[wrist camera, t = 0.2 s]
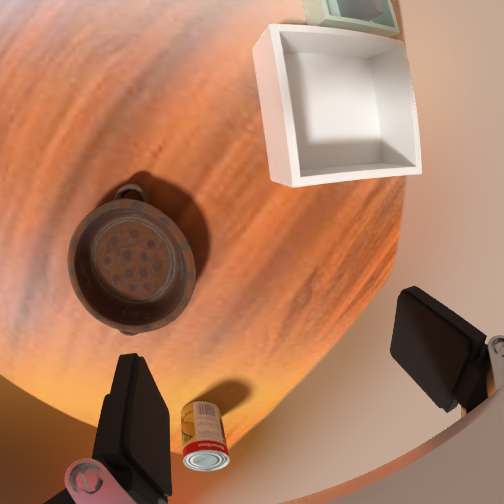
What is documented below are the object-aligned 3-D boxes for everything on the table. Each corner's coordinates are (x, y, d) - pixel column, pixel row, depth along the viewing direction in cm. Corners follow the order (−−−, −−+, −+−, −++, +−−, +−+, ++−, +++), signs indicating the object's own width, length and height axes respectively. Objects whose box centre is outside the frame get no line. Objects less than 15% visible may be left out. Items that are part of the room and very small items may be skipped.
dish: (202, 185, 37) (204, 189, 33) (191, 330, 44) (192, 349, 39) (79, 179, 33) (64, 182, 29) (86, 321, 40) (77, 338, 35)
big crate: (252, 49, 32) (268, 23, 24) (368, 55, 35) (403, 41, 26) (270, 180, 39) (292, 187, 30) (384, 168, 41) (421, 173, 33)
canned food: (179, 423, 50) (182, 470, 39) (181, 399, 48) (184, 449, 37) (217, 425, 52) (225, 471, 41) (223, 401, 50) (233, 450, 39)
